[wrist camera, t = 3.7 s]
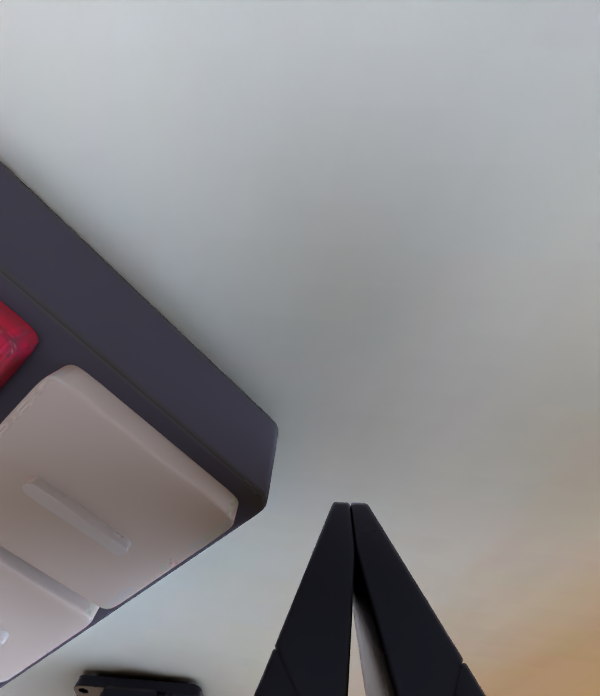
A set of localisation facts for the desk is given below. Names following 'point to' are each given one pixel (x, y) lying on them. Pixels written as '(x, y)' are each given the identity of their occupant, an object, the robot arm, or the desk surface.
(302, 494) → the desk surface
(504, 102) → the desk surface
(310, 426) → the desk surface
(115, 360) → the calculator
